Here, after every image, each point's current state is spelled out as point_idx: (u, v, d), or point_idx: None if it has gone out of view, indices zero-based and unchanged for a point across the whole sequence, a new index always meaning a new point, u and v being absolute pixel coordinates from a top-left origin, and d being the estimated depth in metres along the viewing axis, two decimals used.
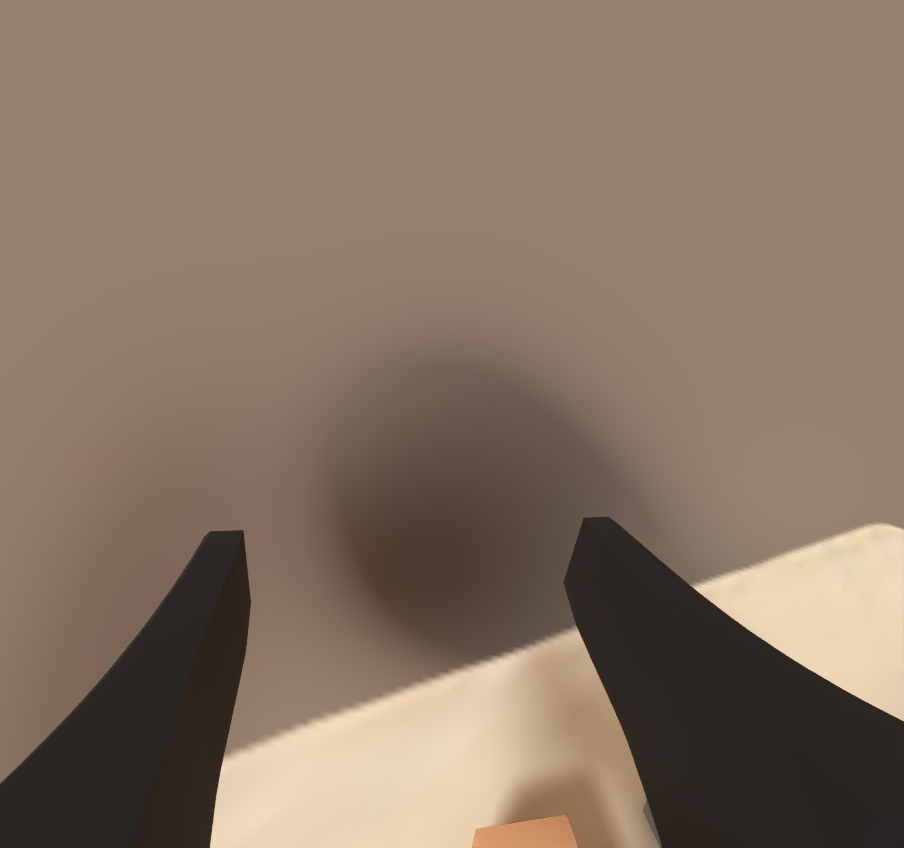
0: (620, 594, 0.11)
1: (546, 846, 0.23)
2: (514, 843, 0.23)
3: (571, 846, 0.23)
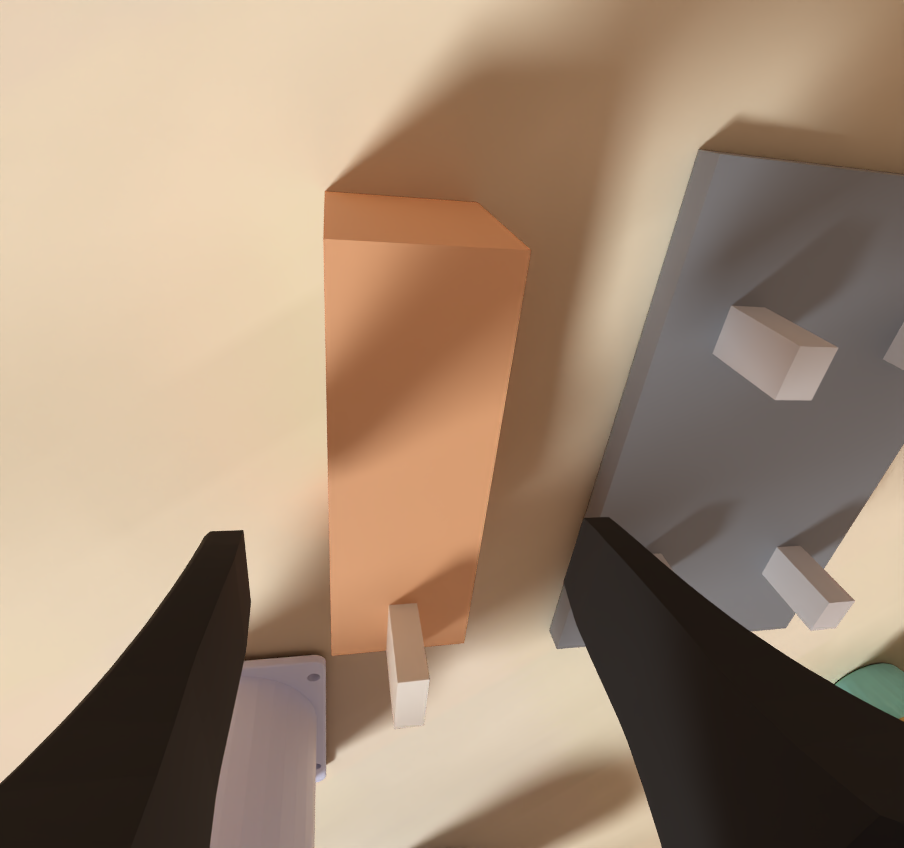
0: (621, 594, 0.11)
1: (461, 298, 0.11)
2: (400, 281, 0.11)
3: (509, 307, 0.12)
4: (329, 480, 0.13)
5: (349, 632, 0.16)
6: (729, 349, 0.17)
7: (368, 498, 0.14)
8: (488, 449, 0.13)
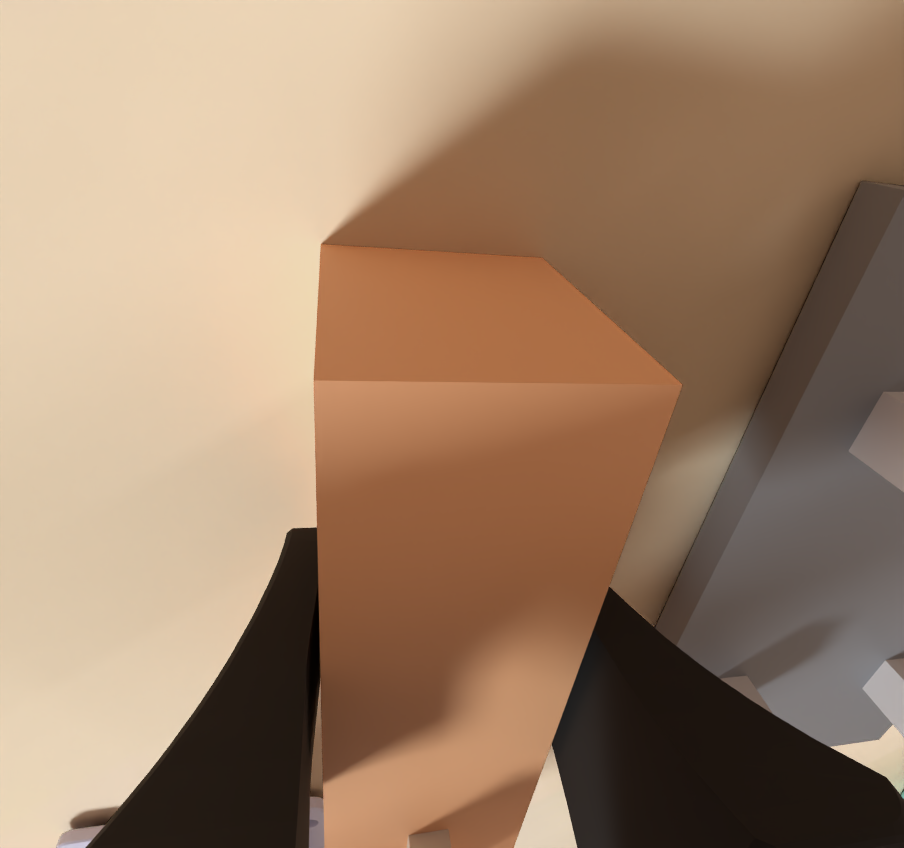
0: None
1: (555, 462, 0.06)
2: (452, 441, 0.06)
3: (631, 469, 0.07)
4: (323, 711, 0.08)
5: None
6: (880, 451, 0.12)
7: (384, 726, 0.09)
8: (571, 655, 0.09)
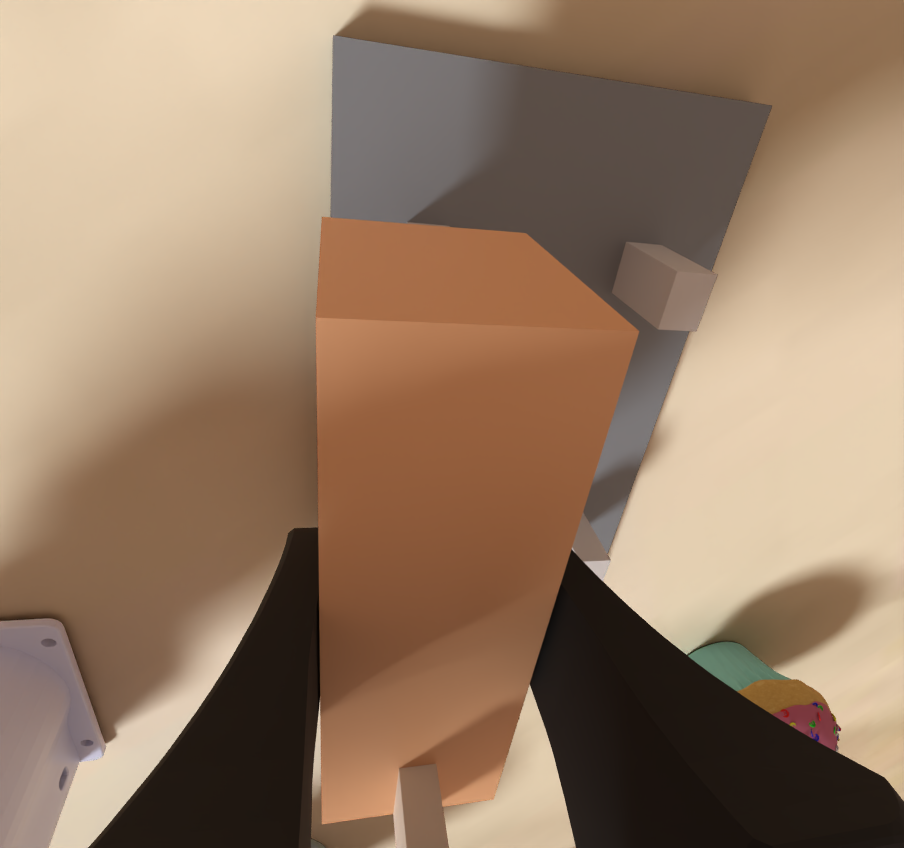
0: None
1: (527, 400, 0.07)
2: (435, 377, 0.07)
3: (596, 410, 0.08)
4: (321, 637, 0.09)
5: (346, 800, 0.12)
6: None
7: (376, 654, 0.10)
8: (546, 590, 0.10)
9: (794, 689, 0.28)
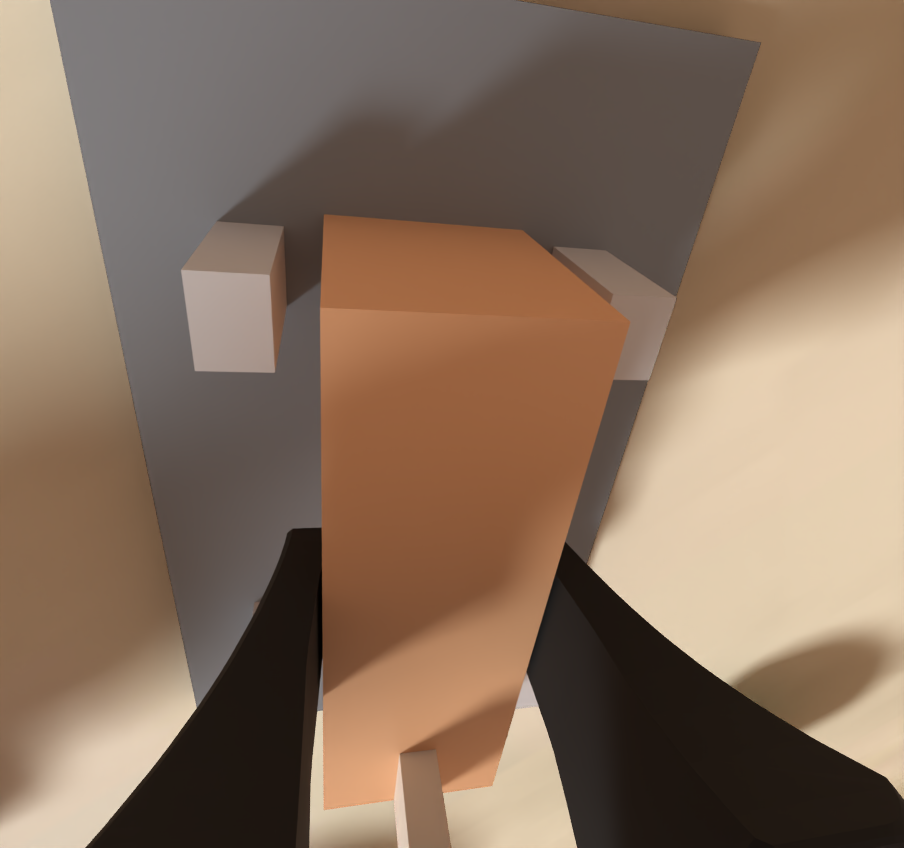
0: None
1: (523, 389, 0.08)
2: (434, 366, 0.07)
3: (590, 398, 0.08)
4: (324, 621, 0.09)
5: (347, 785, 0.12)
6: None
7: (378, 639, 0.10)
8: (543, 576, 0.10)
9: None
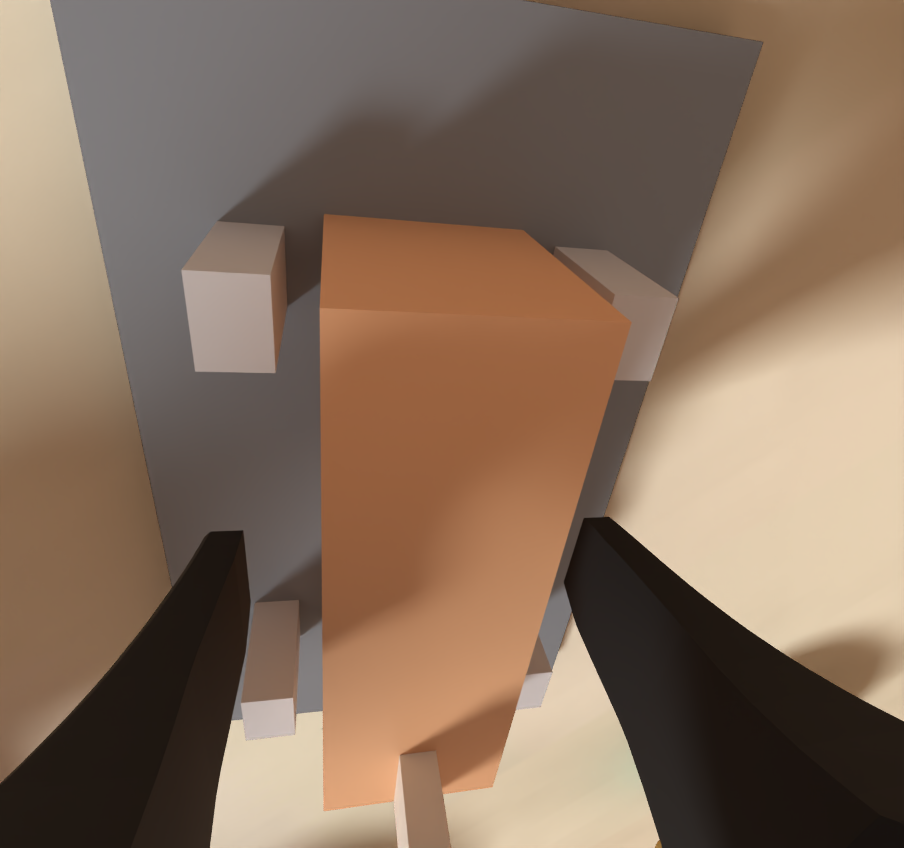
0: (620, 594, 0.11)
1: (524, 389, 0.08)
2: (435, 367, 0.07)
3: (591, 399, 0.08)
4: (324, 622, 0.09)
5: (347, 786, 0.12)
6: None
7: (377, 640, 0.10)
8: (543, 577, 0.10)
9: None
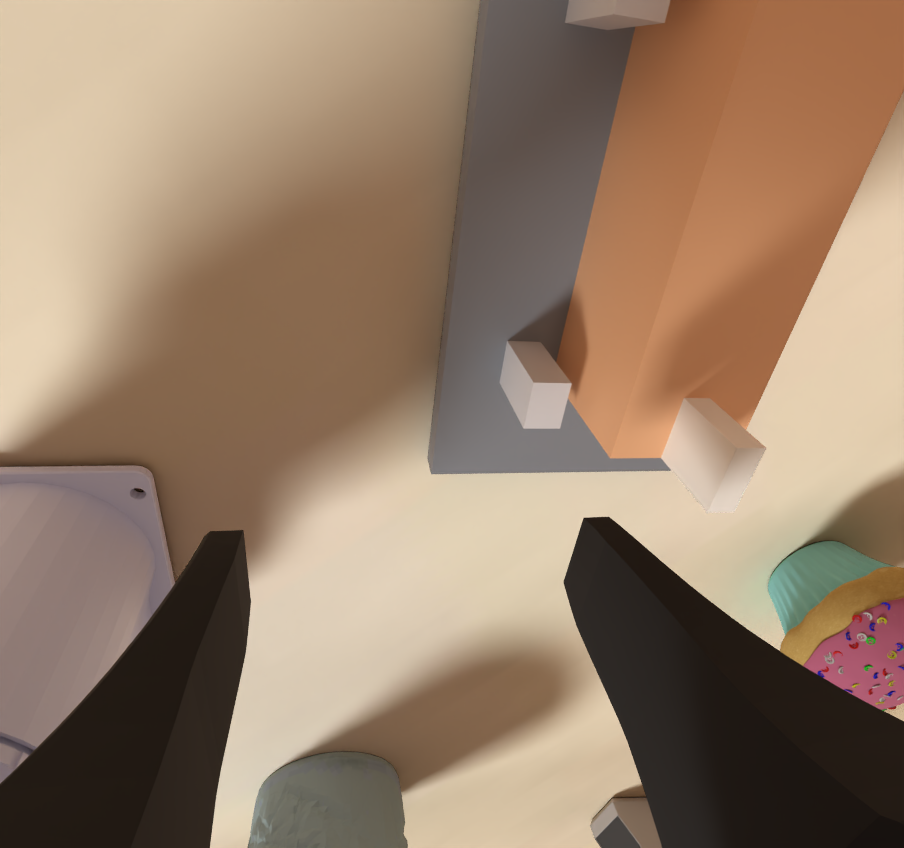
0: (620, 594, 0.11)
1: None
2: None
3: None
4: (687, 222, 0.12)
5: (636, 430, 0.15)
6: None
7: (715, 251, 0.13)
8: (844, 200, 0.13)
9: None
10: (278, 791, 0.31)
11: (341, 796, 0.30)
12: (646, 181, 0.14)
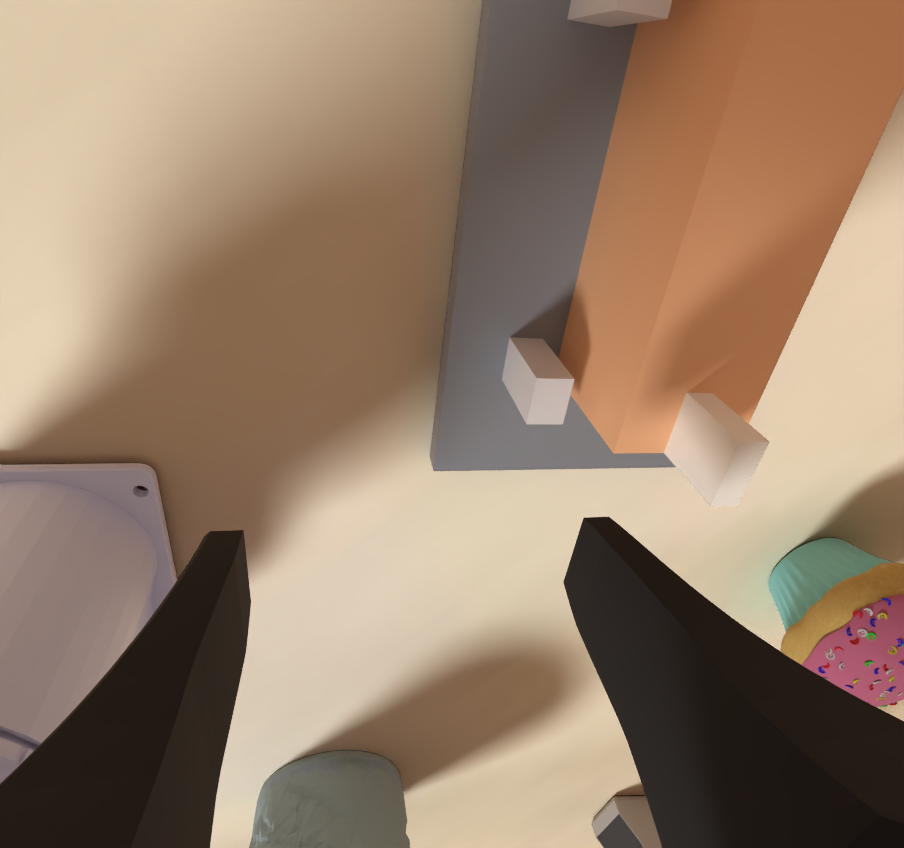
0: (620, 594, 0.11)
1: None
2: None
3: None
4: (690, 217, 0.13)
5: (639, 425, 0.15)
6: None
7: (718, 246, 0.13)
8: (846, 195, 0.13)
9: None
10: (280, 790, 0.31)
11: (343, 795, 0.30)
12: (649, 177, 0.14)
